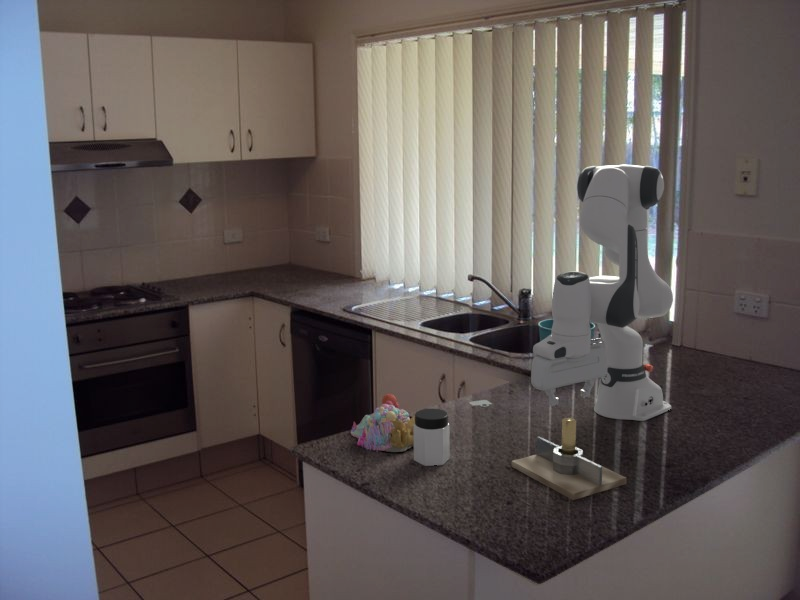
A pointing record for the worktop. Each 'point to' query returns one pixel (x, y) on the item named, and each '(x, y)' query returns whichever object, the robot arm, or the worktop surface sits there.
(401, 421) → the candy landscape model
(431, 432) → the jar
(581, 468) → the grey metal ringed bar
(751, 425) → the worktop surface
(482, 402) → the mounting bracket
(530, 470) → the birch board
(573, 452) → the pin
